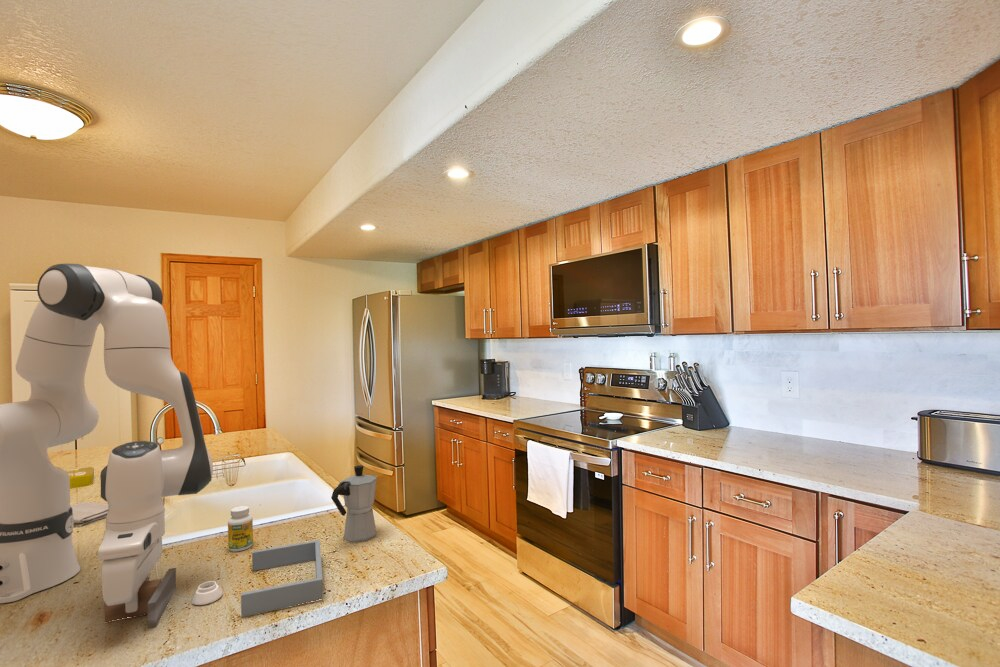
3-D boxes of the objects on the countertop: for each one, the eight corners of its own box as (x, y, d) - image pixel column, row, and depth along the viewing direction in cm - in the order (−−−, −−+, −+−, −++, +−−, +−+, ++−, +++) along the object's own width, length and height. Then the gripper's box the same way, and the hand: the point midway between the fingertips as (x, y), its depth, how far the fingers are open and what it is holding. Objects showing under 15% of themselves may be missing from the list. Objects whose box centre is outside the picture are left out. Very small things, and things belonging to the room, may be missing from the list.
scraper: (91, 640, 81) (91, 611, 81) (121, 599, 94) (120, 574, 94) (155, 627, 84) (155, 599, 84) (176, 589, 97) (175, 565, 97)
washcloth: (81, 529, 132) (81, 518, 132) (32, 524, 136) (32, 514, 136) (124, 513, 143) (124, 503, 143) (78, 510, 147) (78, 500, 147)
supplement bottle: (251, 540, 120) (251, 503, 121) (254, 548, 116) (253, 509, 116) (227, 546, 118) (226, 507, 118) (229, 554, 113) (228, 514, 113)
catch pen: (241, 617, 87) (240, 595, 87) (252, 569, 105) (252, 551, 105) (322, 600, 92) (322, 579, 92) (320, 557, 111) (319, 539, 111)
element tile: (94, 477, 184) (94, 465, 184) (92, 486, 172) (92, 473, 172) (40, 485, 174) (40, 472, 174) (34, 495, 163) (34, 481, 163)
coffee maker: (366, 524, 130) (365, 458, 130) (390, 530, 126) (388, 462, 126) (321, 544, 117) (319, 472, 117) (345, 552, 113) (344, 476, 113)
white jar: (187, 603, 92) (201, 609, 90) (186, 587, 92) (201, 594, 90) (212, 590, 97) (227, 596, 94) (212, 576, 97) (227, 582, 94)
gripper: (134, 514, 98) (135, 581, 98) (92, 555, 79) (93, 639, 79) (170, 509, 100) (171, 575, 100) (138, 548, 81) (139, 629, 81)
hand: (137, 603), depth 89 cm, fingers open, 3 cm apart
